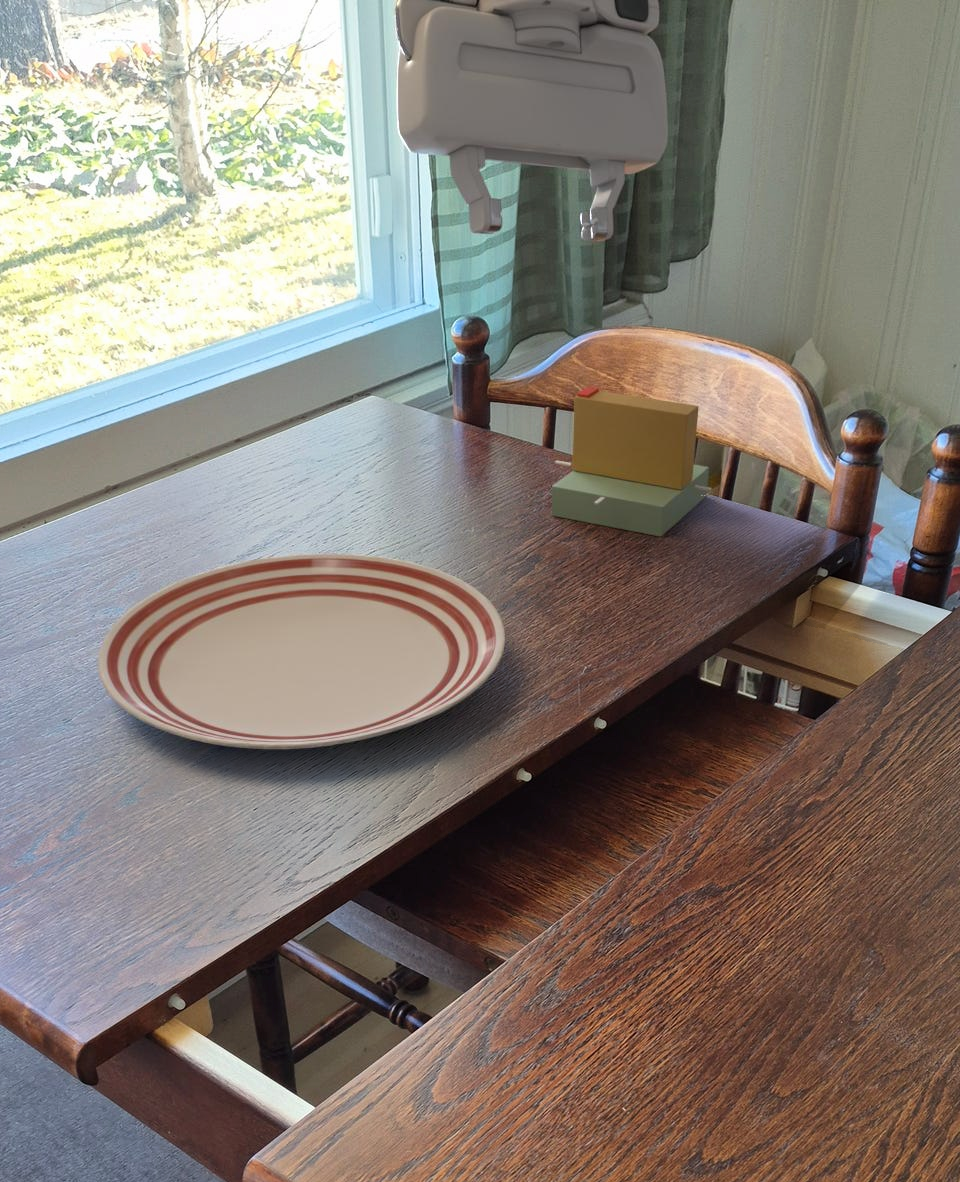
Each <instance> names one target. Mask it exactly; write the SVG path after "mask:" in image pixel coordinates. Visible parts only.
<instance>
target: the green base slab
mask: <svg viewBox="0 0 960 1182" xmlns="http://www.w3.org/2000/svg"><path fill="white" fill-rule="evenodd" d="M554 464H555V465H561V466H566V467H571V466H572V462H568V461H563V460H555V461H554ZM709 472H710V467H709V466H704V465H699V464H694V465H693V477H692V481H691V482H690V483H689V484H688V485H686V486H685V487H684V488H683V489H682V490H679V489H673V488H668V487H662V486H657V485H651V484H645V483H640V482H634V481H629V480H623V479H618V478H612V477H606V476H601V475H595V474H590V473H584V472H578V471H573V470H572V471H571V472H569V473H568V474H567V475H565V476H563V477H562V478H561V479H560V480H558V481H557V482H556V483H554V484H553V485H552V487H551V516H552V517H557V518H561V519H567V520H572V521H577V522H582V523H586V524H587V523H588V524H591V525H598V526H603V527H607V528H612V529H613V528H614V529H618V530H624V531H629V532H634V533H639V534H645V535H650V536H655V537H659V538H660V537H663V536H664V535H665V534H666V533H667V532H668V531H670V529H672V528H673V527H674V526H675V525H676V524H677V523H678V522H680V521H681V520H682V519H683V518H684V517H685V516H686V515H687V514H689V512H691V510H693V509H694V508H695V507H696V506H697V505H698V504H700V503H701V502H702V501H703V500H704V499H705V498H706V497H707V496H708V495H707V494H708V492H711V491H712V489H713V488H712V487H709V486H708V483H709ZM701 495H703V496H701ZM704 495H706V496H704Z"/></svg>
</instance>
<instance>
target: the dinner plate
mask: <svg viewBox="0 0 960 1182" xmlns="http://www.w3.org/2000/svg"><path fill="white" fill-rule="evenodd" d="M505 646H506V629H505V625H504V622H503V619H502V618H501V615H500V613H499V612H498V610H497V609H496V607H495V606H494V604H493V603H492V602H491V601H490V600H489V599H488V598H487V597H486V596H485V595H484V594H483V593H481V591H479V590H478V589H476V588H475V587H474V586H472V585H470V584H469V583H467V582H465V581H464V580H462V579H460V578H458V577H457V576H454V575H452V574H450V573H447V572H445V571H442V570H439V569H436V568H433V567H431V566H427V565H423V564H419V563H416V562H412V561H407V560H402V559H398V558H391V557H384V556H378V555H377V556H376V555H366V554H353V553H305V554H304V553H303V554H302V553H301V554H289V555H280V556H279V555H278V556H270V557H263V558H257V559H251V560H245V561H240V562H235V563H232V564H227V565H223V566H220V567H216V568H211V569H209V570H206V571H203V572H199V573H196V574H194V575H191V576H188V577H186V578H183V579H180V580H178V581H176V582H174V583H171V584H170V585H167V586H165V587H163V588H161V589H159V590H158V591H155V592H154V593H152V594H149V595H148V596H147V597H145V598H144V599H142V600H141V601H139V602H137V603H136V604H134V605H133V606H132V607H131V608H130V609H128V610H127V611H125V613H123V615H122V616H120V618H118V619H117V620H116V621H115V622H114V624H113V625H112V626H111V628H110V629H109V630H108V632H107V633H106V634H105V637H104V639H103V641H102V644H101V646H100V649H99V651H98V656H97V671H98V675H99V680H100V681H101V684H102V686H103V687H104V689H105V691H106V693H107V694H108V696H109V697H110V698H111V699H112V700H113V701H114V702H115V703H116V704H117V705H118V706H119V707H120V708H121V709H123V711H125V712H126V713H127V714H129V715H131V716H132V717H134V718H135V719H138V720H139V721H141V722H143V723H145V724H146V725H148V726H151V727H153V728H155V729H158V730H160V731H163V732H166V733H168V734H171V735H175V736H177V737H178V736H179V737H181V738H184V739H188V740H192V741H197V742H201V743H207V744H211V745H217V746H224V747H231V748H232V747H233V748H242V749H243V748H245V749H254V750H255V749H256V750H295V749H296V750H297V749H298V750H299V749H313V748H319V747H329V746H335V745H341V744H348V743H354V742H357V741H362V740H367V739H371V738H375V737H379V736H383V735H386V734H389V733H393V732H396V731H399V730H403V729H406V728H408V727H411V726H414V725H416V724H419V723H421V722H424V721H425V720H428V719H430V718H433V717H435V716H438V715H440V714H441V713H443V712H445V711H447V710H449V709H450V708H452V707H454V706H456V705H457V704H459V703H460V702H463V700H464V701H465V699H467V698H469V697H470V696H472V694H473V693H475V692H476V691H477V690H478V689H479V688H480V687H481V686H483V684H484V683H486V681H487V680H488V679H489V678H490V676H492V674H493V673H494V672H495V671H496V669H497V667H498V666H499V664H500V663H501V660H502V658H503V655H504V653H505V652H504V651H505Z"/></svg>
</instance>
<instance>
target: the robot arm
mask: <svg viewBox="0 0 960 1182" xmlns="http://www.w3.org/2000/svg"><path fill="white" fill-rule="evenodd" d="M659 22H660V5H659V0H396V2H395V5H394V25H395V37H396V41H397V45H398V48H399V49H398V58H397V75H396V76H397V77H396V118H397V131H398V134H399V136H400V139H401V140H402V142H403V144H404V145H405V147H406V148H407V150H408V152H410V153H413V154H421V155H430V156H440V157H441V156H442V157H448V158H449V169H450V176H451V178H452V180H453V182H454V183H455V186H456V187H457V189H458V192H459V193H460V195H461V197H462V198H463V201H464V202H465V203H466V205H467V209H468V221H469V229H470V232H471V233H473V234H478V235H479V234H481V235H492V234H494V233H496V232H499V231H501V229H502V228H503V216H502V215H501V213H502V209H503V208H502V207H503V206H502V199H501V198H493V197H492V196H491V194H490V191H489V189H488V186H487V184H486V182H485V180H484V177H483V175H482V172H481V170H482V169H484V168H485V167H486V164H487V163H486V161H490V162H491V161H492V162H500V163H501V162H502V163H510V164H511V163H512V164H520V165H521V164H522V165H531V166H532V165H533V166H539V167H540V166H542V167H550V168H553V167H554V168H561V169H571V170H580V171H581V170H582V171H589V181H590V187H591V188H594V189H596V191H595V194H594V197H593V201H592V203H591V207H590V209H589V210H586V211H584V212H581V213H580V225H581V227H582V229H581V238H582V240H584V241H587V242H588V241H589V242H590V241H591V242H604V241H607V240H609V239H612V237H613V235H614V214H613V213H614V212H613V211H614V210H613V209H614V208H615V206H616V204H617V202H618V200H619V196H620V194H621V192H622V190H623V187H624V185H625V183H626V182H625V181H626V178H625V176H626V175H634V174H636V173H639V172H642V171H644V170H646V169H649V168H651V167H653V166H655V165H657V164H658V163H659V162H660V160H661V159H662V157H663V155H664V152H665V150H666V148H667V145H668V134H669V133H668V132H669V131H668V130H669V129H668V103H667V102H668V101H667V90H666V79H665V70H664V64H663V63H664V62H663V59H662V55H661V52H660V50H659V47H658V45H657V44H656V43H655V41H654V40H653V39H652V37H650V36H649V35H648V34H649V33H650V32H652V31H653V30H655V29H657V27H658V25H659Z"/></svg>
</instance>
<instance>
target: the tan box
mask: <svg viewBox="0 0 960 1182" xmlns="http://www.w3.org/2000/svg"><path fill="white" fill-rule="evenodd" d="M576 394H577V395H575V396H574V401H573V402H574V404H573V405H574V406H573V431H572V434H573V436H572V437H573V438H572V462H571V470H572V471H578V472H584V473H590V474H595V475H601V476H606V477H612V478H618V479H623V480H629V481H634V482H640V483H645V484H651V485H657V486H662V487H668V488H673V489H679V490H682V489H683V488H684V487H685V486H686V485H688V484H689V483H690V482H691V481H692V477H693V465H695V454H696V443H697V442H696V440H697V431H698V430H697V429H698V417H699V406H698V405H694V404H687V403H682V402H681V403H680V402H674V401H667V400H662V399H656V398H650V397H649V398H648V397H642V396H637V395H630V394H624V393H617V392H610V391H605V390H600V388H599V387H597V386H596V387H595V386H586V387H585V388H583V389H582V390H580V391H579V392H577V393H576Z"/></svg>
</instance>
